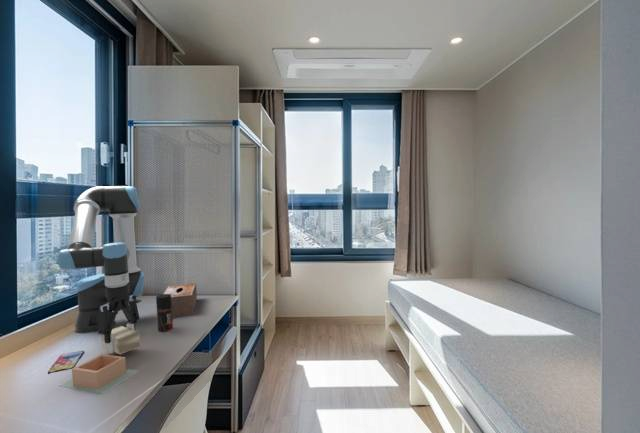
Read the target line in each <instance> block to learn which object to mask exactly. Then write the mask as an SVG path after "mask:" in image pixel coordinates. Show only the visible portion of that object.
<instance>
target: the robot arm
mask: <svg viewBox="0 0 640 433" xmlns="http://www.w3.org/2000/svg"><path fill="white" fill-rule="evenodd" d="M140 210H141V205H140V200H139V195H138V191H137V188H136V187H135V186H131V185H129V186H128V185H110V186H109V185H108V186H102V185H100V186H98V185H97V186H93V187H91V188H89V189H86V190H85V191H84V192H82V193H81V194H80V195H79V196H78V197H77V198H76V199H75V201H74V204H73V211H74V213H75V214H74V219H73V223H72V227H71V228H72V229H71V233H70V237H69V242H68V246H67V248H65V249H61V250H60V251H59V252H58V254H57V255H58V256H57V263H58V267H59V268H60V270H64V271H67V270H80V269H89V268H97V267H103V269H104V270H103V271H104V272H103V273H98V274H94V275H90V276H87V277H84V278H81V279H80V280H79V281H77V283H76V293H77V305H78V306H77V307H78V315H77V317H76V321H75V324H74V331H75V332H77V333H92V332H96V331H97V332H98V333H97V334H98V335H101V336H102V335H104V340H105V343H106V345H107V349H106V352H113V351H115V349H114V334H113V333H111V331H112V329H114V328H113V327H114V325H115V320H116V318H117V315H118V314H119V311H122V312H123V315H124V317H125V318H126V320H127V322H128V323H126V328H129V329H132V330H135V331H136V324H137V323H138V320H140V315H139V309H138V303H137V298H141V296H143V290H144V283H145V282H144V280H145V273H144V272H141V271H142V270H141V268H140V267H138V265H137V264H138V263H137V248H136V231H135V217H136V216H137V215H138V211H140ZM100 212H108V215H109V217H111V218H112V223H113V241H114V242H109V243H105V244H103V246H94V247H93V245H94V236H95V231H96V223H97V216H98V215H99V214H100Z"/></svg>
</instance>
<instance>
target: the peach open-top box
mask: <svg viewBox="0 0 640 433" xmlns="http://www.w3.org/2000/svg"><path fill="white" fill-rule="evenodd" d="M126 364H127V363H126V357H125V356H118V355H112V354H111V355H110V354H105V353H104V354H103V353H101V354H100V355H97V356H95V357H92V358H91V359H89V360H87V361H86V362H83V363H82V364H79V365H76V366H75V367H74V368H72V369H71V379H73V385H77V386H82V387H88V388H94V389H99V388H100V387H102V386H104V385H105V384H107V383H109V382H110V381H112V380H114V379H115V378H117V377H119V376H120V375H122V374H124V373H125V372H126V369H127V367H126Z"/></svg>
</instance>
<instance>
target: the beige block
mask: <svg viewBox="0 0 640 433" xmlns="http://www.w3.org/2000/svg"><path fill="white" fill-rule="evenodd" d="M111 333H113V334H114V349H115V351H113V352H114V353H115V354H118V355H123V354H125V353H127V352H129V351H132V350H134V349H137V348H139V347H140V346H141V345H140V331H138V330H136V329H135V330H132V329H129V328H127V326H126V327H125V326H122V325H120V326H117V327H115V328H112V331H111ZM101 337H102V338H101V342H102V348H104V349H106V350H107V345H106V343H105V340H104V335H102V334H101Z"/></svg>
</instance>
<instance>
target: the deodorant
mask: <svg viewBox="0 0 640 433" xmlns="http://www.w3.org/2000/svg"><path fill="white" fill-rule="evenodd" d="M155 303H156V317H157V318H156V319H157V332H159V333H166V332H169V331H171V330H173V329H174V327H173V326H174V324H173V317H172V305H171V294H163V293H162V294H159V295H157V296H155Z"/></svg>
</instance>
